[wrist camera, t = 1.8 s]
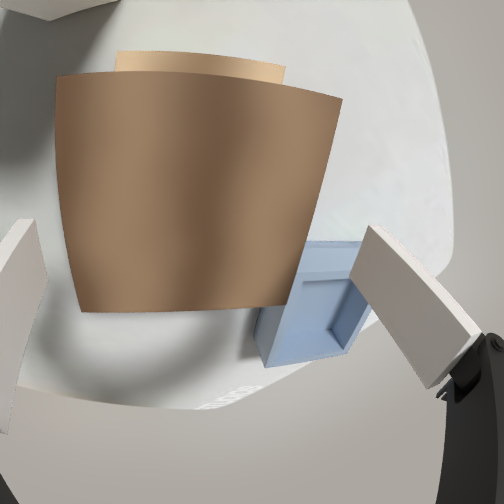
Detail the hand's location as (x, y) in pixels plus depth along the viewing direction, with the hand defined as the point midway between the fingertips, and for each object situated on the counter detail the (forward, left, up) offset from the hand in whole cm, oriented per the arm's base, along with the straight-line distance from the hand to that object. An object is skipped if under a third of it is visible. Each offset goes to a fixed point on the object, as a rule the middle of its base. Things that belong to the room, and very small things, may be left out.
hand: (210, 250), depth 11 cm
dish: (+12, -11, -10) cm, 19 cm away
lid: (0, 0, -6) cm, 6 cm away
